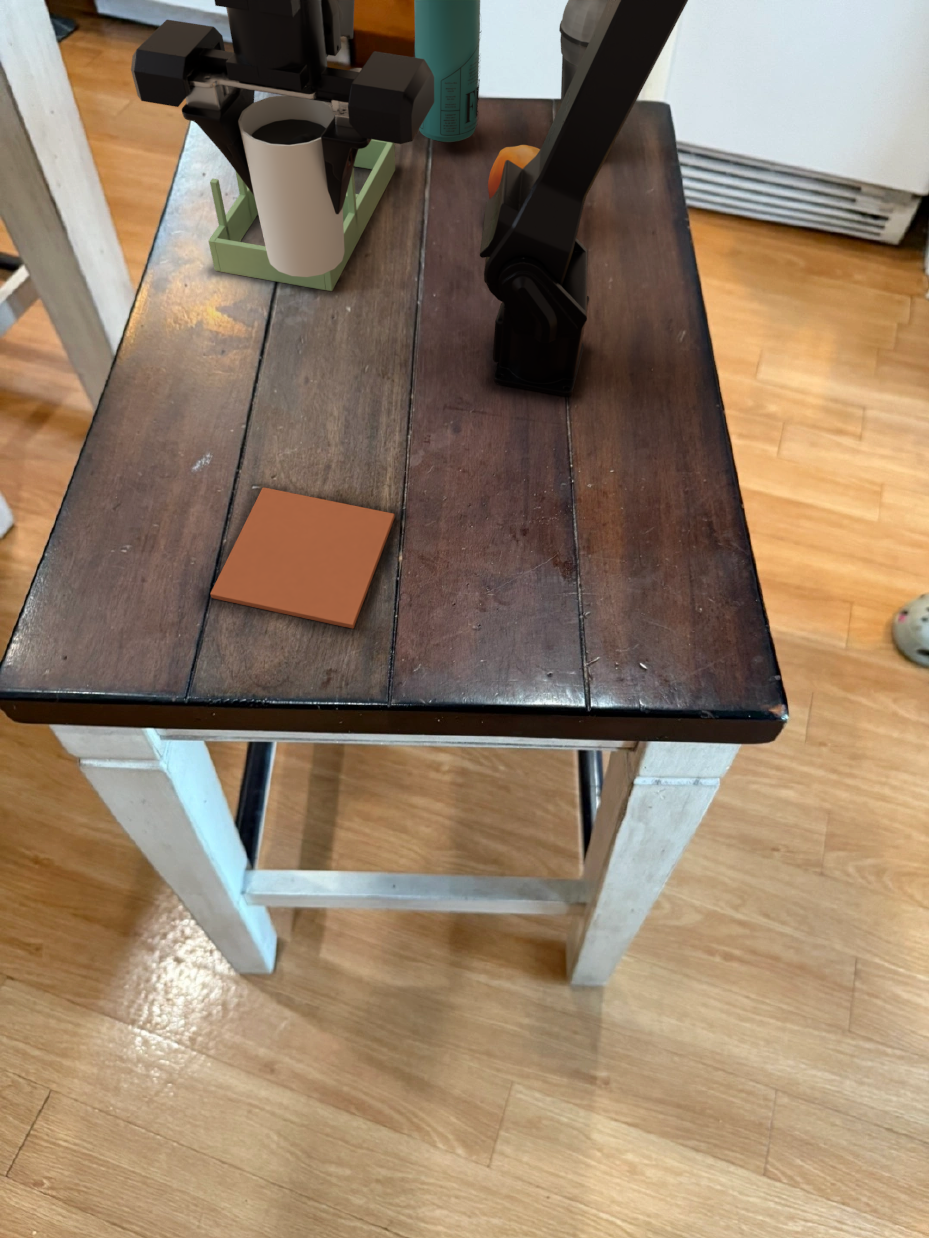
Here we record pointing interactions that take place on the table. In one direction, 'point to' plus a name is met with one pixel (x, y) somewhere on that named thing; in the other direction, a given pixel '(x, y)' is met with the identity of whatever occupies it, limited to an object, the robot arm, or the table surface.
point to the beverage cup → (577, 35)
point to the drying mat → (305, 557)
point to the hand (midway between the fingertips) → (300, 204)
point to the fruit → (515, 155)
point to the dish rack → (254, 258)
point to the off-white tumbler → (292, 184)
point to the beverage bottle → (450, 65)
